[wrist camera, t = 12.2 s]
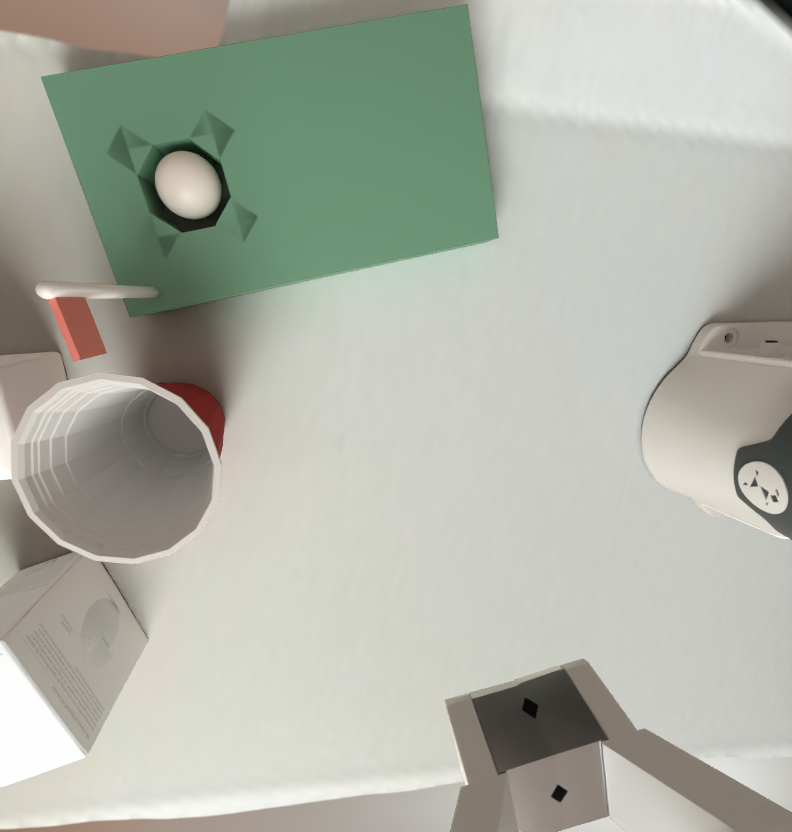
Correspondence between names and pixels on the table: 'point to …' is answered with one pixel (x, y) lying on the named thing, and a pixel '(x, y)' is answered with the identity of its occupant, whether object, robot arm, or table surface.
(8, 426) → the medicine bottle
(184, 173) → the ball
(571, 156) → the table surface
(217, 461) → the plastic cup
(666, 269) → the table surface
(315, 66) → the putting deck
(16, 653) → the skincare box
